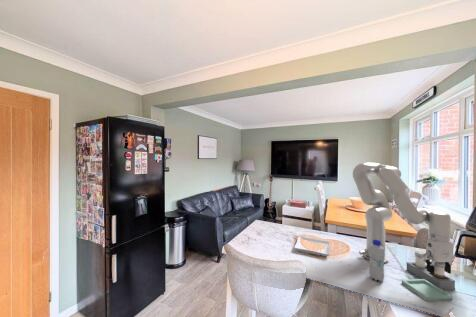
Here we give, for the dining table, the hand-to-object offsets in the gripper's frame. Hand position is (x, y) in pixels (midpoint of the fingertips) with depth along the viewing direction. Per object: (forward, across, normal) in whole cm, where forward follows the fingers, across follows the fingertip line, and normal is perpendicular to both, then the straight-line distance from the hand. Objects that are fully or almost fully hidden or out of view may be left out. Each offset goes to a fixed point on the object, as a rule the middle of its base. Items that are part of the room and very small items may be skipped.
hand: (438, 272), depth 96 cm
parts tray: (+6, -12, -4) cm, 14 cm away
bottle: (+6, -28, +6) cm, 29 cm away
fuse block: (+6, 0, +4) cm, 7 cm away
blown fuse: (+6, 0, 0) cm, 6 cm away
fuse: (+6, 0, +9) cm, 11 cm away
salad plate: (+7, -46, +40) cm, 61 cm away
